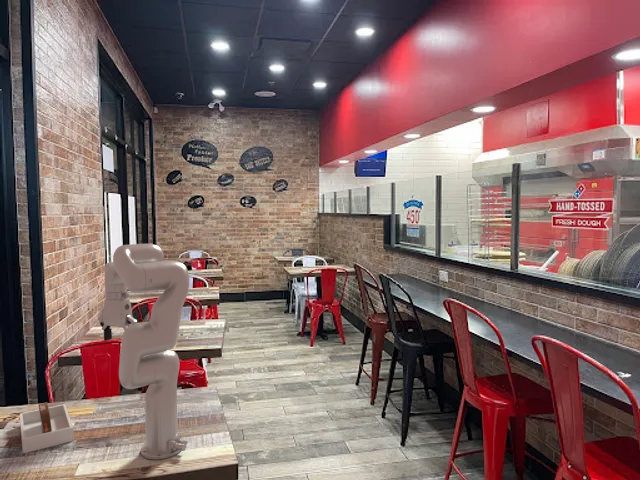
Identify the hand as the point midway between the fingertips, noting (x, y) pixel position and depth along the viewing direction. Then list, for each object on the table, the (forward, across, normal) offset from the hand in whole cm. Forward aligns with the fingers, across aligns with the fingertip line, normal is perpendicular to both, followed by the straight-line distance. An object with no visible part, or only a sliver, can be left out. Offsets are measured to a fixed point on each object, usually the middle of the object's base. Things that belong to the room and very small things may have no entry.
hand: (118, 341), depth 173 cm
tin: (+26, +10, +23) cm, 36 cm away
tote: (+26, +10, +23) cm, 36 cm away
